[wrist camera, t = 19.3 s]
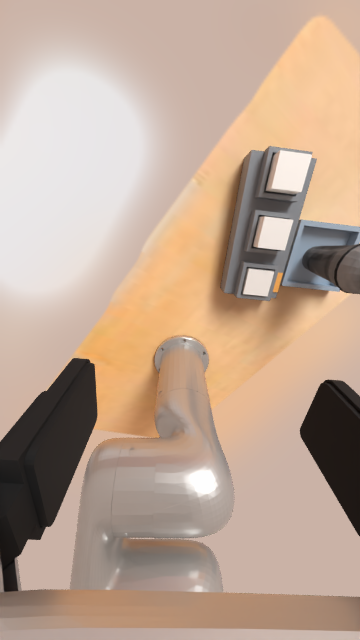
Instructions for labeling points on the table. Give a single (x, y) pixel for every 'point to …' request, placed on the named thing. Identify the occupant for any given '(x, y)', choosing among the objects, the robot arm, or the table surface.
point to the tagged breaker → (257, 281)
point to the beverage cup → (336, 265)
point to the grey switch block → (266, 215)
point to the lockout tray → (310, 237)
